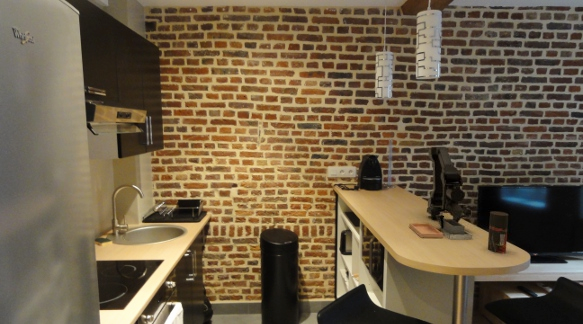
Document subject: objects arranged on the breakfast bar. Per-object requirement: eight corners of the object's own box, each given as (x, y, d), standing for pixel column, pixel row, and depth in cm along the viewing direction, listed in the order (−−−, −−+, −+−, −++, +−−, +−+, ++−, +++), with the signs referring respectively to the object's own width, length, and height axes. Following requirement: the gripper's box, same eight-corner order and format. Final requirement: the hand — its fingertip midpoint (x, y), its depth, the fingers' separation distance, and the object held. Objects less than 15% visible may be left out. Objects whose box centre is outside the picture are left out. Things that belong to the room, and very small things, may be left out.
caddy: (440, 229, 141) (440, 219, 141) (451, 229, 141) (452, 219, 140) (451, 237, 130) (452, 226, 130) (464, 237, 130) (464, 226, 129)
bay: (441, 232, 136) (441, 228, 135) (462, 233, 135) (462, 229, 135) (449, 239, 128) (450, 234, 128) (472, 239, 127) (472, 234, 127)
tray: (409, 227, 144) (409, 223, 144) (428, 227, 144) (428, 223, 144) (421, 238, 129) (421, 233, 129) (442, 238, 129) (443, 233, 129)
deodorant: (498, 253, 112) (500, 216, 111) (484, 248, 118) (486, 212, 116) (509, 252, 114) (512, 214, 112) (495, 246, 119) (497, 210, 118)
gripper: (437, 200, 130) (435, 234, 131) (480, 200, 129) (477, 234, 131) (426, 195, 141) (425, 226, 142) (466, 195, 140) (464, 226, 142)
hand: (448, 228), depth 139 cm, fingers closed on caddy, 5 cm apart
